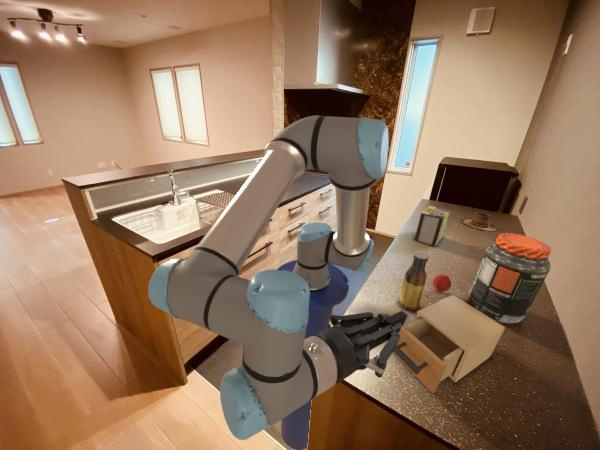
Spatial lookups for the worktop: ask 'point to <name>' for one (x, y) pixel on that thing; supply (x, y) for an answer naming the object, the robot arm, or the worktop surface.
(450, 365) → the drawer
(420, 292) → the sauce bottle
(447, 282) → the onion
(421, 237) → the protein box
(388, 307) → the worktop surface
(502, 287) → the supplement tub
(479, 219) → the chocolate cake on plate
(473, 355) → the cabinet
